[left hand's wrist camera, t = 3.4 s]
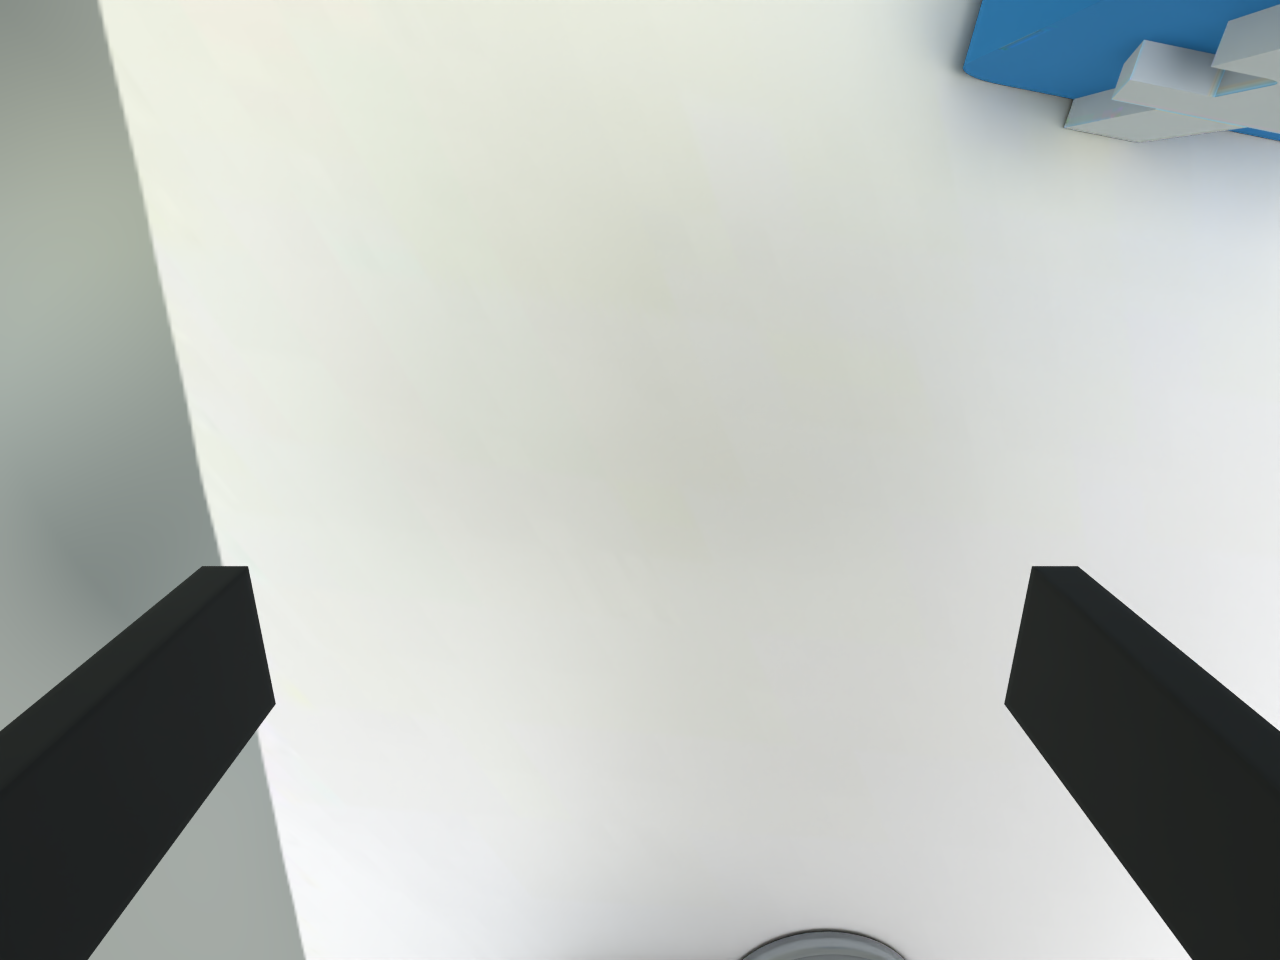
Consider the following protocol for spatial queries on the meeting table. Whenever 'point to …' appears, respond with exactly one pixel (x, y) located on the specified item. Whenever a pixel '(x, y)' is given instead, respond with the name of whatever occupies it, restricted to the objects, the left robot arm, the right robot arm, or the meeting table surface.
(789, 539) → the meeting table surface
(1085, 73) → the logo
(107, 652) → the left robot arm
